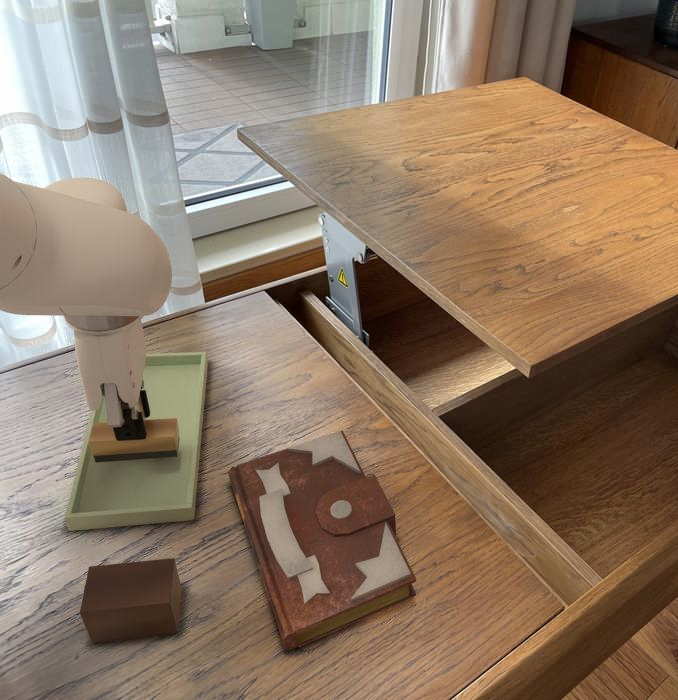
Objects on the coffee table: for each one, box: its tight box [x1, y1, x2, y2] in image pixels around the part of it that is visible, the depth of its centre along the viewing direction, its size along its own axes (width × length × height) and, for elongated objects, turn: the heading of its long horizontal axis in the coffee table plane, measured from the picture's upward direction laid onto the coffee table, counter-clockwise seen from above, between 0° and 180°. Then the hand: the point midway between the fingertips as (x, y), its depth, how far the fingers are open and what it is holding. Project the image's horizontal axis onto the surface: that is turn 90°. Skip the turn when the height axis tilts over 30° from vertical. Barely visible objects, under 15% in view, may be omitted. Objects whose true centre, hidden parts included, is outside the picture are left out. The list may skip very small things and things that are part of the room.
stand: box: [79, 557, 183, 644], centre depth 72 cm, size 5×8×6 cm, turn 102°
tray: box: [63, 351, 209, 532], centre depth 91 cm, size 27×13×2 cm, turn 12°
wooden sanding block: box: [88, 394, 180, 463], centre depth 83 cm, size 3×9×10 cm, turn 102°
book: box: [227, 429, 417, 651], centre depth 82 cm, size 23×16×5 cm
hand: (133, 426), depth 83 cm, fingers closed on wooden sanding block, 2 cm apart
